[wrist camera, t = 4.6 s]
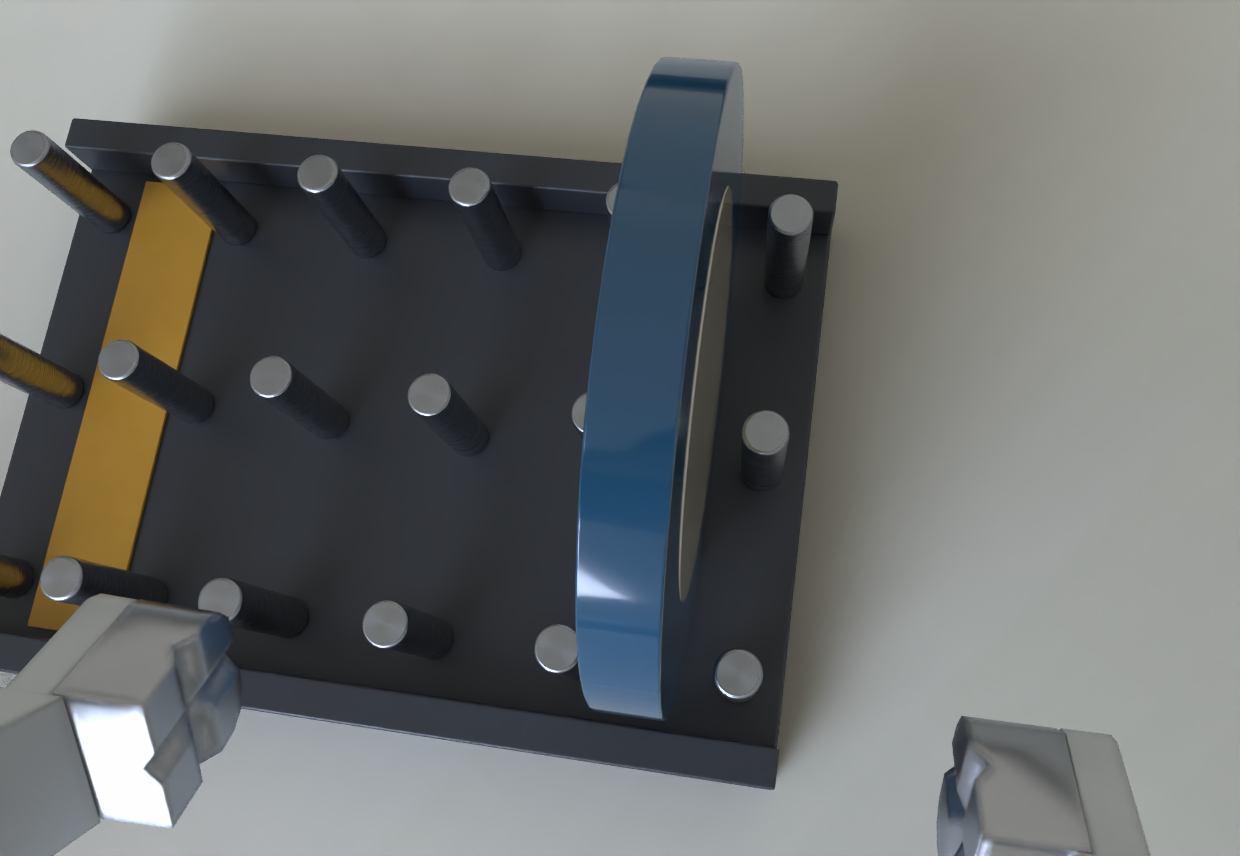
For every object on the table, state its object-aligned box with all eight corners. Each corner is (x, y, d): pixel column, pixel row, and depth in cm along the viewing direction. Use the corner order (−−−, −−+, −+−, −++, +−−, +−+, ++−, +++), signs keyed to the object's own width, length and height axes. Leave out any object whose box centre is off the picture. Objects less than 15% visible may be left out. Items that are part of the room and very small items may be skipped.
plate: (683, 722, 23) (637, 720, 13) (623, 714, 24) (532, 704, 13) (743, 236, 26) (748, -99, 15) (690, 231, 26) (658, -104, 16)
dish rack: (771, 785, 24) (779, 798, 20) (-19, 664, 26) (-168, 650, 22) (830, 223, 27) (848, 126, 23) (119, 160, 29) (13, 63, 25)
